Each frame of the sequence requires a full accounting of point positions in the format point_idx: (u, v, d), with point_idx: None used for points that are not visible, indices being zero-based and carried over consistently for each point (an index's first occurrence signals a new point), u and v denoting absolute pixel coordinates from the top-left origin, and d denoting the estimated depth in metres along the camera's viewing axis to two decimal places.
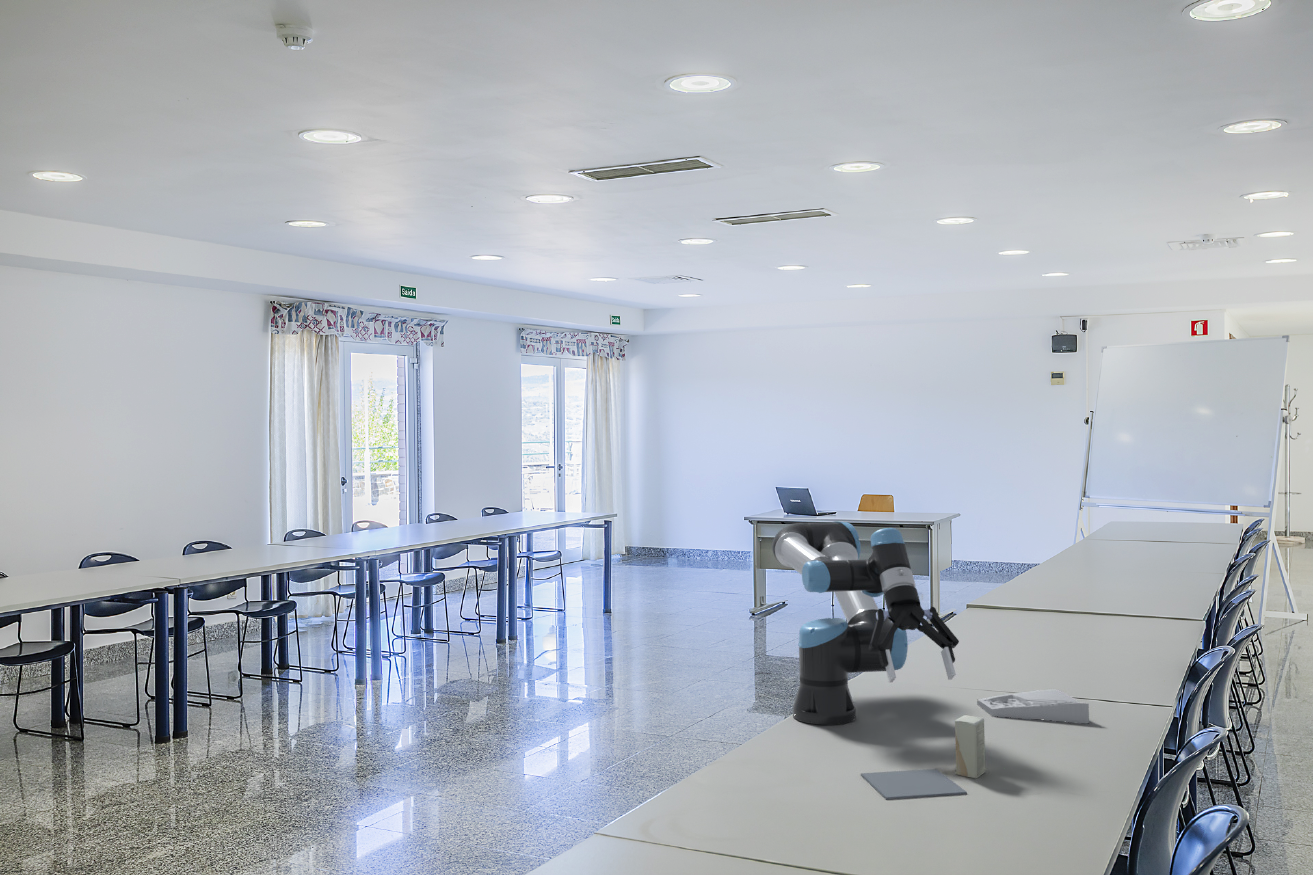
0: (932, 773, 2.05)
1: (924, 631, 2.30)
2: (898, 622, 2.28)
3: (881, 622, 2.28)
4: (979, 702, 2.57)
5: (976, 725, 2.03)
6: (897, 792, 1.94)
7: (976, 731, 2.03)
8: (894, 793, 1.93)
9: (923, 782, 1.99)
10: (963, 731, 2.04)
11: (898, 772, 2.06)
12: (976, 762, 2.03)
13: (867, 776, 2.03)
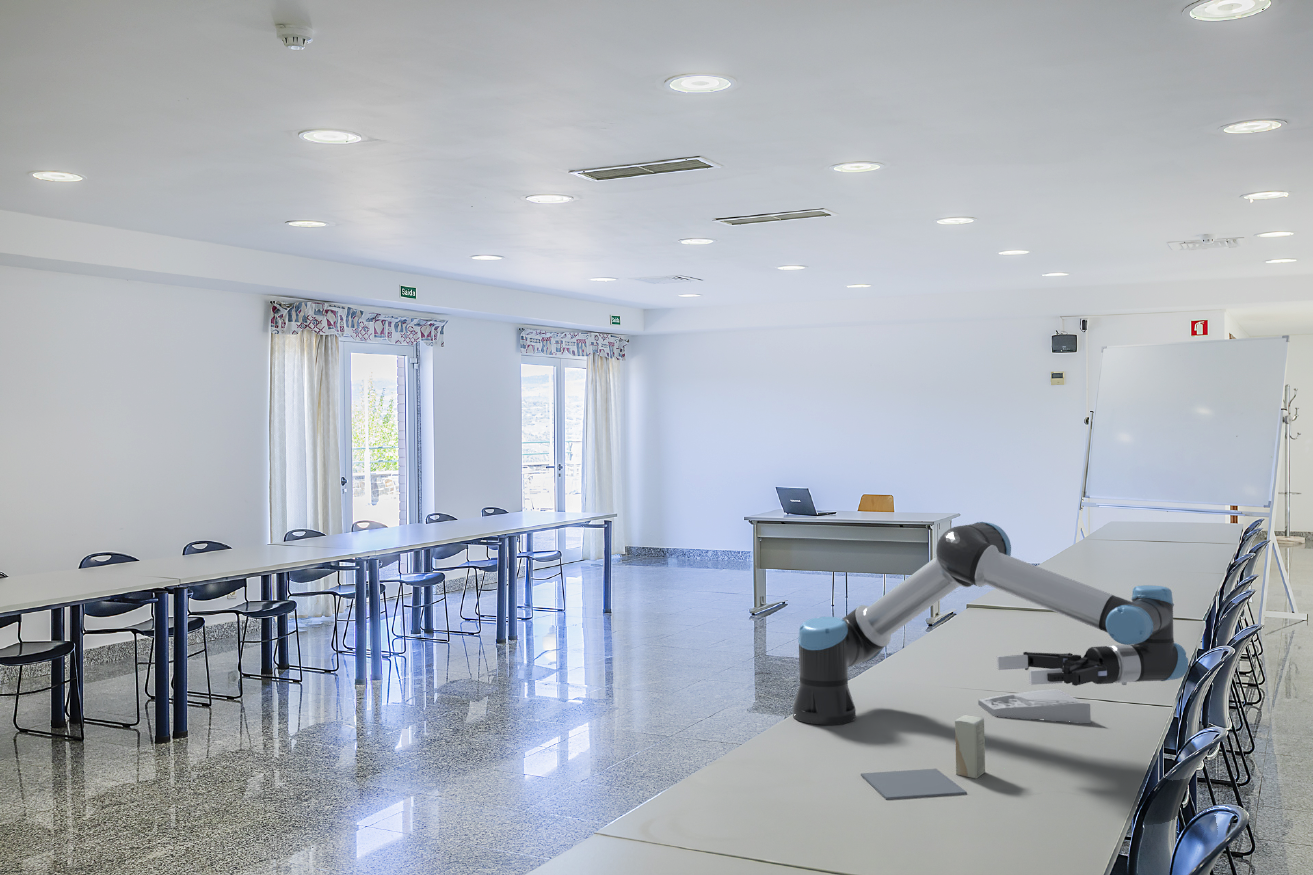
0: (932, 773, 2.05)
1: (1056, 660, 2.12)
2: None
3: None
4: (980, 702, 2.56)
5: (976, 725, 2.03)
6: (897, 792, 1.94)
7: (976, 731, 2.03)
8: (894, 793, 1.93)
9: (923, 782, 1.99)
10: (963, 731, 2.04)
11: (898, 772, 2.06)
12: (976, 762, 2.03)
13: (867, 776, 2.03)
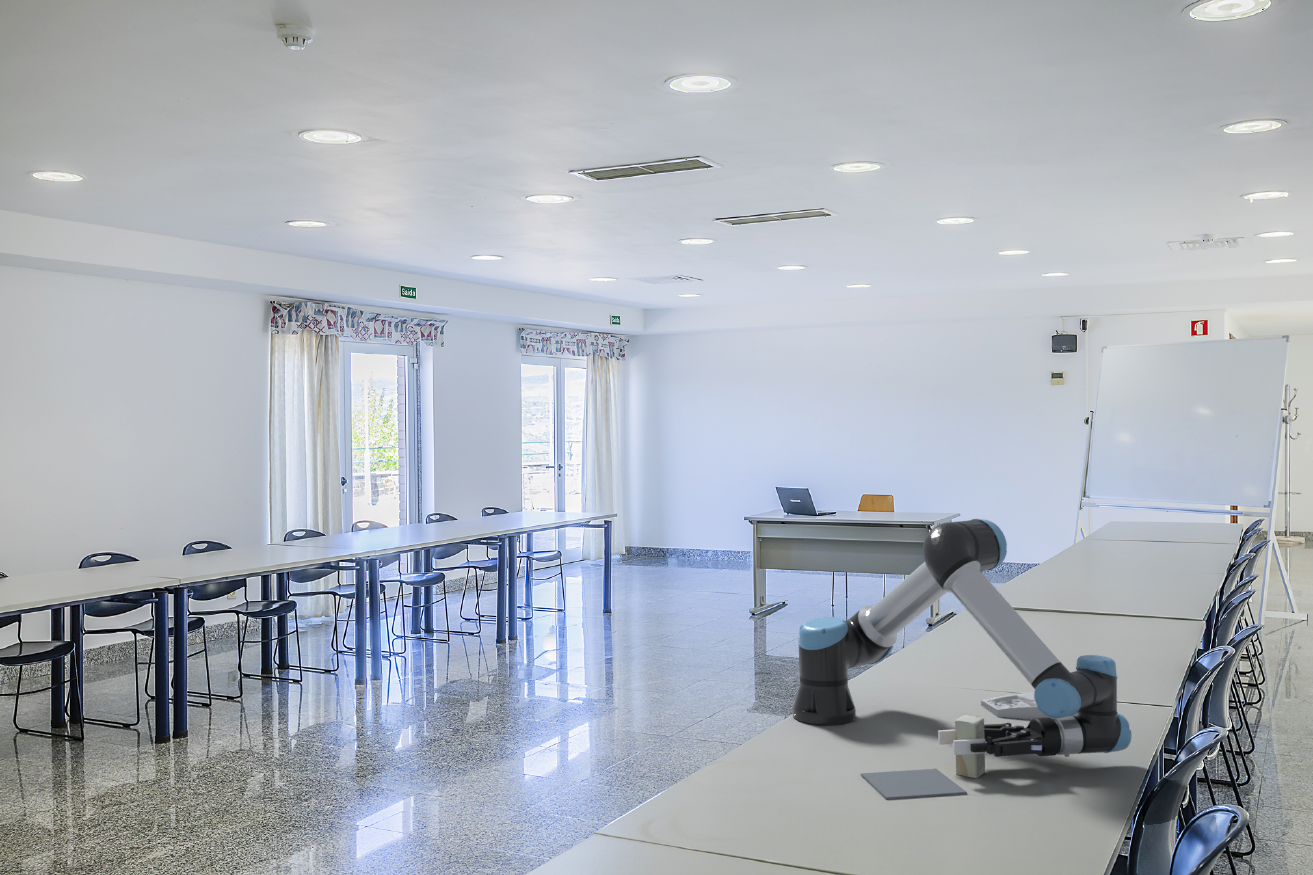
0: (932, 773, 2.05)
1: (999, 733, 2.09)
2: None
3: None
4: (983, 703, 2.56)
5: (976, 725, 2.03)
6: (897, 792, 1.94)
7: (976, 730, 2.03)
8: (894, 793, 1.93)
9: (923, 782, 1.99)
10: (963, 731, 2.04)
11: (898, 772, 2.06)
12: (976, 762, 2.03)
13: (867, 776, 2.03)
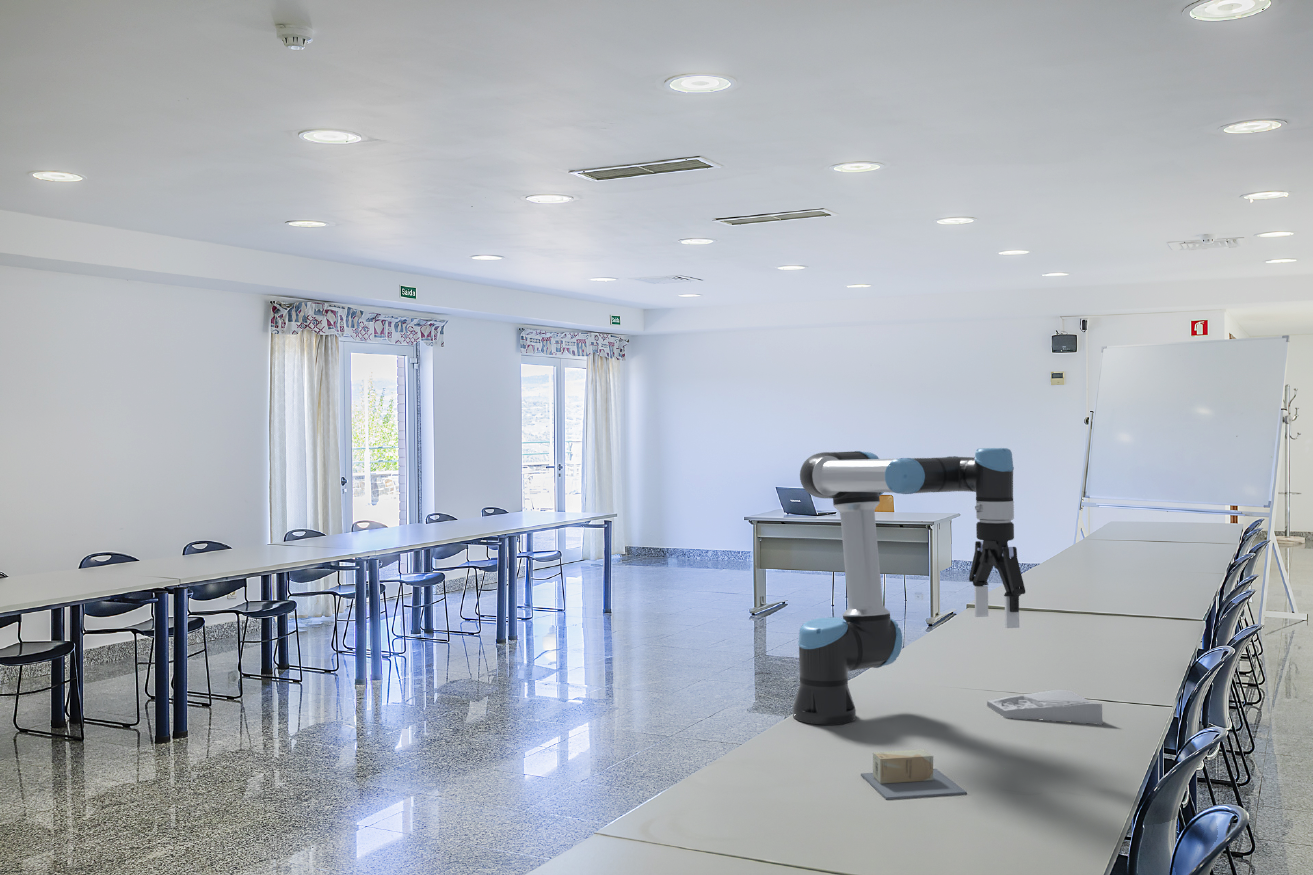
0: None
1: None
2: (981, 560, 2.18)
3: (975, 556, 2.21)
4: (989, 703, 2.55)
5: None
6: (897, 792, 1.94)
7: None
8: (894, 793, 1.93)
9: (923, 782, 1.99)
10: None
11: None
12: None
13: (867, 776, 2.03)
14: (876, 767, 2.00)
